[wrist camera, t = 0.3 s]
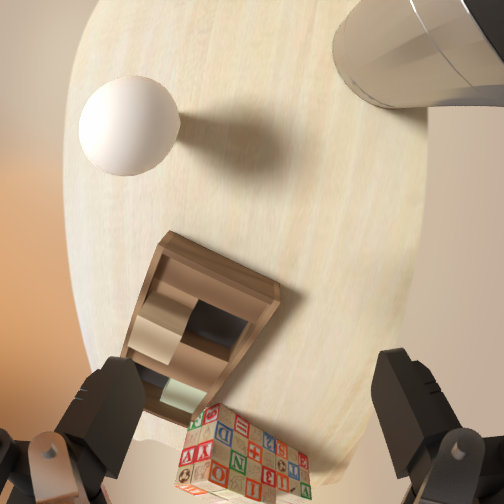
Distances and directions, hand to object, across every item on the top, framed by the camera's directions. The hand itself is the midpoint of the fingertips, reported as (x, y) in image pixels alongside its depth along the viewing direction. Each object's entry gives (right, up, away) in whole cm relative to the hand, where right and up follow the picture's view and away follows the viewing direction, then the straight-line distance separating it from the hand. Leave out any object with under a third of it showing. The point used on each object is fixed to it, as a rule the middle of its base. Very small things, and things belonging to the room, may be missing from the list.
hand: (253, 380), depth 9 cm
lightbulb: (-7, +15, +14) cm, 21 cm away
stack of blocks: (0, -25, +31) cm, 40 cm away
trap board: (-7, -5, +22) cm, 24 cm away
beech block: (-8, -2, +18) cm, 20 cm away
